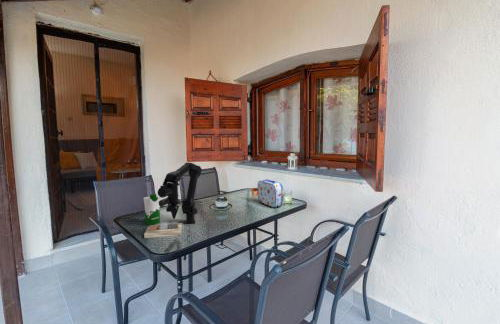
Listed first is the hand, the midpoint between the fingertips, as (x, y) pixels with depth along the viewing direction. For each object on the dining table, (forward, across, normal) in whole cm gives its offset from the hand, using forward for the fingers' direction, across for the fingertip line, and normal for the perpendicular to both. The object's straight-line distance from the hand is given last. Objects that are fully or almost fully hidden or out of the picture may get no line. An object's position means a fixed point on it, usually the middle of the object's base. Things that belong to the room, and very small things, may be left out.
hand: (174, 218), depth 153 cm
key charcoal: (+6, 0, 0) cm, 6 cm away
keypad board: (+8, 0, -6) cm, 10 cm away
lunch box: (+8, -45, +74) cm, 87 cm away
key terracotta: (+8, 0, -12) cm, 14 cm away
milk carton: (+8, -18, -16) cm, 25 cm away
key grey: (+6, 0, -6) cm, 9 cm away
